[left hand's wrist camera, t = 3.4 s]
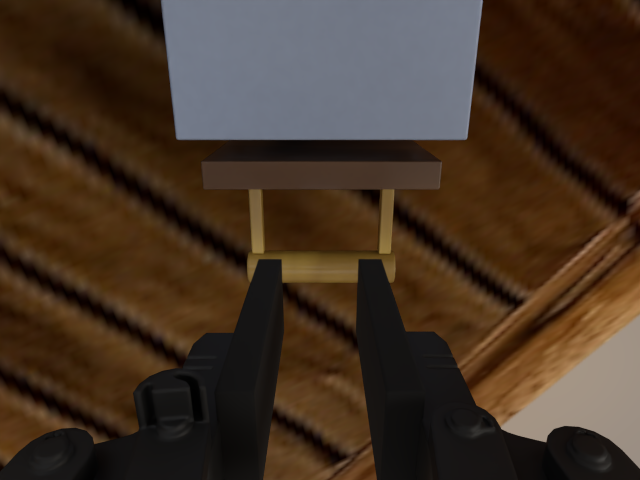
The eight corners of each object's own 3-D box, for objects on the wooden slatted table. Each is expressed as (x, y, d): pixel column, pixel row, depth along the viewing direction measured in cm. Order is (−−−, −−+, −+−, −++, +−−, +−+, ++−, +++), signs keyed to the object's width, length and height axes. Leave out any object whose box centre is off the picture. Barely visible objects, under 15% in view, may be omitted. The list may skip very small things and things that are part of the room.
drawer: (403, 250, 27) (428, 303, 21) (238, 250, 27) (213, 303, 21) (434, -190, 20) (488, -313, 13) (208, -190, 20) (156, -313, 13)
